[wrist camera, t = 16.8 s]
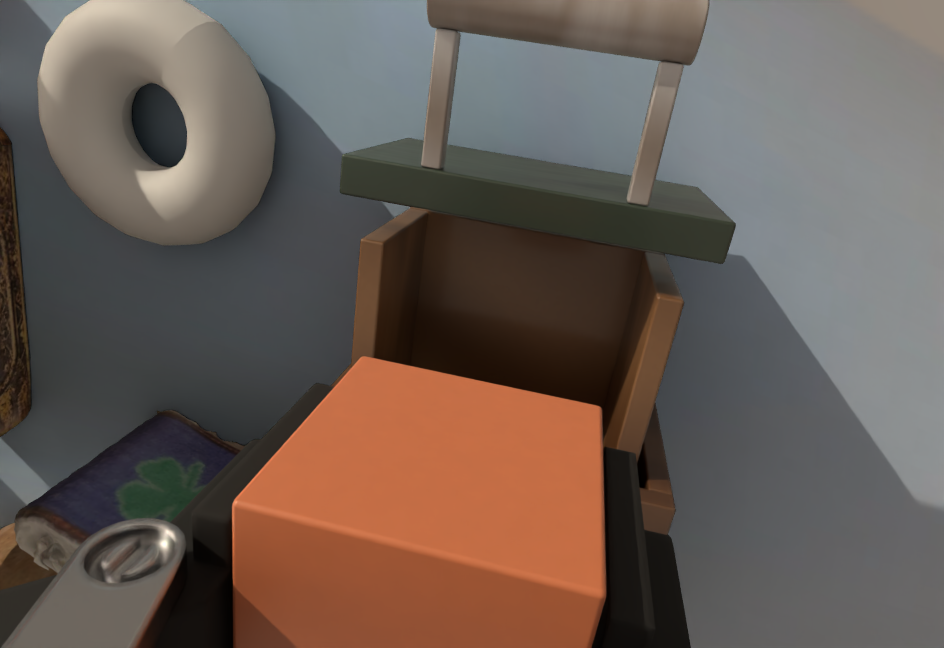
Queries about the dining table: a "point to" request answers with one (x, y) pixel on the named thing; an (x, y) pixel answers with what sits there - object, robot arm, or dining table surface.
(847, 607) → the dining table surface
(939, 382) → the dining table surface
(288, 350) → the dining table surface
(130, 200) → the donut
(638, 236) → the drawer
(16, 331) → the book
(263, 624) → the block
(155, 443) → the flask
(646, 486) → the cabinet
